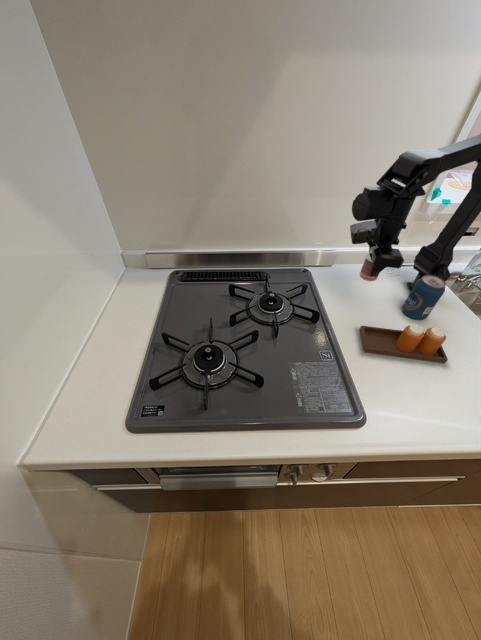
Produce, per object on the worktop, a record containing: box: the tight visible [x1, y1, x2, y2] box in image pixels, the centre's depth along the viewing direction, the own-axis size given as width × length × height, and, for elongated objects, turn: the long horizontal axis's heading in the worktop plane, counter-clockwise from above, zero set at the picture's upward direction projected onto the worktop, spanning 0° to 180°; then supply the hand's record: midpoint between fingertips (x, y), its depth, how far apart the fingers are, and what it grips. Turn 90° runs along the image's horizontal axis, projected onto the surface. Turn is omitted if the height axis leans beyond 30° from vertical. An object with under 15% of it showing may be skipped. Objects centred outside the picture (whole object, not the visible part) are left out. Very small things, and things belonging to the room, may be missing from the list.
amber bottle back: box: [416, 326, 447, 355], centre depth 69 cm, size 4×4×6 cm
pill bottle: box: [359, 246, 380, 282], centre depth 74 cm, size 5×5×8 cm
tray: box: [359, 325, 449, 364], centre depth 71 cm, size 8×19×2 cm, turn 80°
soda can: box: [401, 275, 447, 321], centre depth 77 cm, size 7×7×12 cm
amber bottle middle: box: [396, 324, 425, 353], centre depth 69 cm, size 4×4×6 cm
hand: (370, 270), depth 76 cm, fingers closed on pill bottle, 5 cm apart
